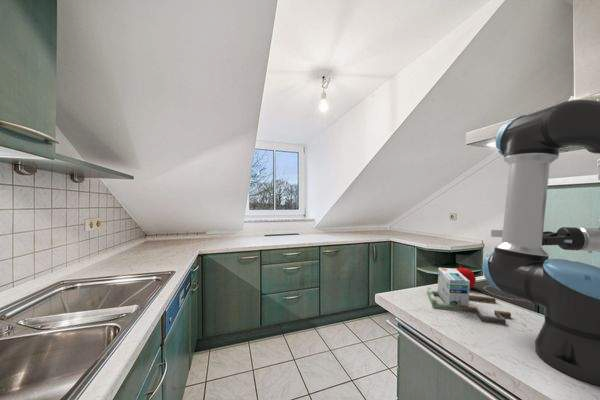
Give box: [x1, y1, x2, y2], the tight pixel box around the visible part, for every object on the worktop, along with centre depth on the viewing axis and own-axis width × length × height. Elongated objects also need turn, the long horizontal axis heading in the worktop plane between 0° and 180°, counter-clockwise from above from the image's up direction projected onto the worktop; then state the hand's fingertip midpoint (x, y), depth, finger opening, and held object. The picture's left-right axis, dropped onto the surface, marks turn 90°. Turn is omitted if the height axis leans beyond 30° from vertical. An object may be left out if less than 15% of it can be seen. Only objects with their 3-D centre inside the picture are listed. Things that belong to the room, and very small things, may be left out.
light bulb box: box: [437, 267, 471, 307], centre depth 88 cm, size 11×7×11 cm, turn 170°
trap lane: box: [426, 287, 512, 326], centre depth 87 cm, size 25×23×2 cm
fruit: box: [454, 264, 476, 290], centre depth 104 cm, size 9×9×10 cm
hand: (498, 235), depth 85 cm, fingers open, 13 cm apart
